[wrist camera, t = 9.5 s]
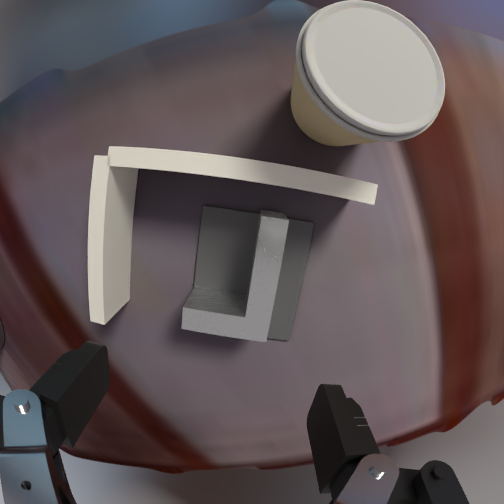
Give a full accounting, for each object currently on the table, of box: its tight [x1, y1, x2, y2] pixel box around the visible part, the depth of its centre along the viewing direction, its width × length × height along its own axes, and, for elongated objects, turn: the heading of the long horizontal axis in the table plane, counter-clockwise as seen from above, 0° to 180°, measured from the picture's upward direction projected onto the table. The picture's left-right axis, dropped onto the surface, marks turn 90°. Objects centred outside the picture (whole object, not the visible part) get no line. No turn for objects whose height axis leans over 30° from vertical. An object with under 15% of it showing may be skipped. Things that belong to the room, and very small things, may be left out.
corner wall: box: [88, 146, 378, 325], centre depth 24 cm, size 21×15×6 cm
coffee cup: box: [291, 0, 445, 146], centre depth 18 cm, size 9×9×12 cm
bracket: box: [182, 209, 289, 342], centre depth 25 cm, size 10×7×5 cm
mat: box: [194, 206, 314, 341], centre depth 28 cm, size 10×12×1 cm
